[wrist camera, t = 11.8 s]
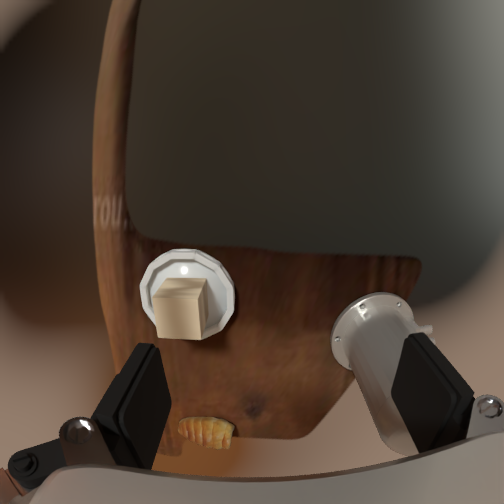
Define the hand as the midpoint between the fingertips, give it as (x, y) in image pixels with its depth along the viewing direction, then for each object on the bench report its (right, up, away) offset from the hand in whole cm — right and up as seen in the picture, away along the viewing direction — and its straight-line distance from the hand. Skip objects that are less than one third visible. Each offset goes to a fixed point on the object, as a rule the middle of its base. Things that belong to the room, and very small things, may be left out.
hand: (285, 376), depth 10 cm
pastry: (-8, -25, +35) cm, 44 cm away
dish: (-9, -1, +27) cm, 29 cm away
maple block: (-9, -1, +27) cm, 28 cm away
